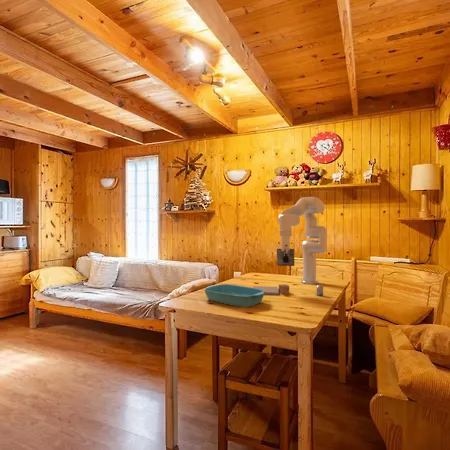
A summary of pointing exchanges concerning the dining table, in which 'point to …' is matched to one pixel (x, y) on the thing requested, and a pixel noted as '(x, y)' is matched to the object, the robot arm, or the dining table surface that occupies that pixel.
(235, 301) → the casserole dish
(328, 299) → the dining table surface
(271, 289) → the tile board
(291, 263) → the small box
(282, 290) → the walnut block
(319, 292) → the metal cylinder
